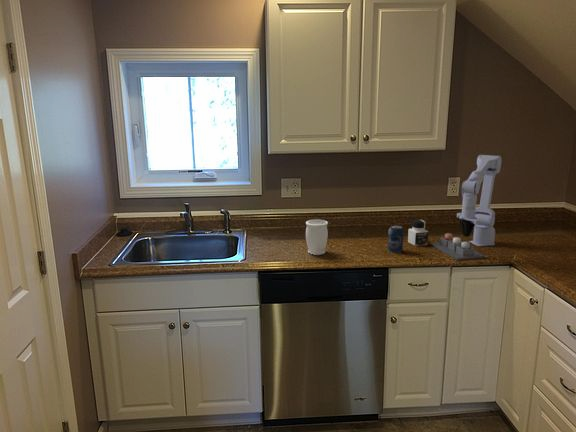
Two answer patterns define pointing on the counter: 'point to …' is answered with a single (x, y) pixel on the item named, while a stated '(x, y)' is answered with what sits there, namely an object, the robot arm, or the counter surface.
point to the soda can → (395, 239)
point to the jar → (316, 236)
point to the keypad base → (456, 250)
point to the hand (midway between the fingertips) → (466, 236)
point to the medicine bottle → (418, 233)
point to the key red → (448, 236)
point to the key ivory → (456, 240)
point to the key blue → (465, 245)
